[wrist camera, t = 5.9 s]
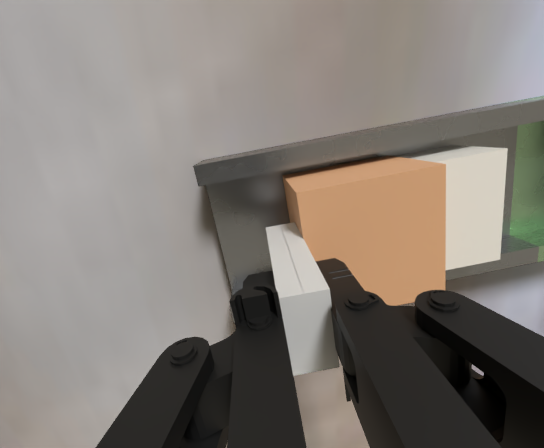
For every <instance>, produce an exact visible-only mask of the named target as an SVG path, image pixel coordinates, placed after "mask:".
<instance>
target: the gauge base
mask: <svg viewBox="0 0 544 448" xmlns="http://www.w3.org/2000/svg"><path fill="white" fill-rule="evenodd" d="M453 145H458V146H476V147H494V148H508V151H507V165H506V180H505V195H504V210H503V225H502V240H501V254H500V260H496V261H490V262H485V263H480V264H475V265H470V266H465V267H460V268H455V269H450V270H446V271H445V281H446V280H451V279H456V278H461V277H466V276H471V275H476V274H481V273H486V272H491V271H496V270H501V269H506V268H511V267H516V266H521V265H526V264H531V263H536V262H541V261H544V96H540V97H535V98H530V99H525V100H519V101H514V102H509V103H503V104H498V105H493V106H488V107H482V108H477V109H472V110H466V111H461V112H456V113H451V114H445V115H440V116H435V117H429V118H424V119H419V120H414V121H408V122H403V123H398V124H392V125H387V126H382V127H377V128H371V129H366V130H361V131H355V132H350V133H345V134H340V135H334V136H329V137H324V138H318V139H313V140H308V141H302V142H297V143H292V144H287V145H281V146H276V147H271V148H265V149H260V150H255V151H250V152H244V153H239V154H234V155H228V156H223V157H218V158H213V159H207V160H203V161H201V162H199V163H198V164H196V165H194V166H193V167H194V171H195V175H196V178H197V182H198V186H204V185H206V188H207V192H208V196H209V200H210V204H211V208H212V212H213V216H214V220H215V224H216V228H217V232H218V236H219V240H220V244H221V248H222V252H223V256H224V260H225V264H226V268H227V272H228V276H229V280H230V284H231V288H232V294H231V297H232V295H234V294H235V293H236V292H237V291H238V290H240V289H242V288H243V281H244V280H245V279H246V277H247V276H248V275H251V274H256V273H262V272H267V271H272V270H273V269H272V263H271V257H270V251H269V245H268V239H267V233H266V227H271V226H277V225H282V224H287V223H290V219H289V213H288V207H287V201H286V195H285V189H284V183H283V177H282V175H287V174H292V173H298V172H303V171H308V170H313V169H319V168H324V167H329V166H334V165H339V164H345V163H350V162H355V161H360V160H366V159H371V158H376V157H381V156H387V155H390V156H401V155H406V154H411V153H417V152H422V151H427V150H432V149H438V148H443V147H448V146H453ZM230 310H231V314H232V318H233V322H234V323H235V321H234V317H233V313H232V309H231V305H230Z"/></svg>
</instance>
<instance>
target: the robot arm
mask: <svg viewBox="0 0 544 448" xmlns="http://www.w3.org/2000/svg"><path fill="white" fill-rule="evenodd" d="M266 233H267V239H268V245H269V251H270V257H271V263H272V269H273V270H272V271H267V272H262V273H256V274H251V275H248V276H247V277H246V279H245V280H244V281H243V288H242V289H240V290H238V291H237V292H236V293H235V294H234V295H232V297H231V299H230V305H231V309H232V313H233V317H234V321H235V325H236V331H235V332H234V333H233V334H232V335H231V336H229V337H228V338H226V339H224V340H222V341H220V342H218V343H216V344H213V345H211V346H209V344H208V341H206V340H205V339H203V338H200V337H190V338H185V339H182V340H180V341H177V342H175V343H174V344H172V345H171V346H169V347H168V348H167V349H166V350H165V351H164V352H163V353H162V354H161V355H160V357H159V358H158V359H157V361H156V362H155V364H154V365H153V367H152V368H151V369H150V371H149V372H148V374H147V375H146V377H145V378H144V379H143V381H142V382H141V384H140V385H139V387H138V388H137V389H136V391H135V392H134V394H133V395H132V397H131V398H130V399H129V401H128V402H127V404H126V405H125V407H124V408H123V409H122V411H121V412H120V414H119V415H118V417H117V418H116V419H115V421H114V422H113V424H112V425H111V427H110V428H109V429H108V431H107V432H106V434H105V435H104V437H103V438H102V439H101V441H100V442H99V444H98V445H97V447H96V448H225V447H226V444H227V448H306V443H305V437H304V432H303V426H302V421H301V415H300V410H299V404H298V399H297V393H296V388H295V382H294V377H293V376H296V375H301V374H306V373H311V372H316V371H321V370H327V369H332V368H337V367H339V359H340V361H341V364H342V366H343V373H344V382H345V390H346V398H347V401H351V399H352V402H353V405H354V407H355V410H356V412H357V415H358V418H359V420H360V423H361V425H362V428H363V431H364V433H365V436H366V439H367V441H368V444H369V446H370V448H544V337H543V336H541V335H539V334H537V333H535V332H533V331H531V330H529V329H527V328H525V327H523V326H521V325H519V324H517V323H516V322H514V321H512V320H510V319H508V318H506V317H504V316H502V315H500V314H498V313H496V312H494V311H492V310H490V309H488V308H486V307H484V306H482V305H480V304H478V303H476V302H475V301H473V300H471V299H469V298H467V297H465V296H463V295H460V294H457V293H455V292H451V291H445V290H430V291H425V292H422V293H421V294H419V295H417V297H416V299H415V306H390V305H387V304H386V303H385V302H384V301H383V300H382V298H380V297H379V296H378V295H377V294H374V293H371V292H369V291H365V290H364V289H363V287H362V286H361V285H360V283H359V282H358V281H357V279H356V278H355V277H354V275H352V273H351V271H350V270H349V269H348V267H347V266H346V265H345V263H344V262H342V261H340V260H338V259H336V258H331V259H326V260H321V261H315V260H314V258H313V256H312V254H311V252H310V250H309V248H308V246H307V244H306V242H305V240H304V239H303V237H302V235H301V233H300V231H299V229H298V228H297V226H296V224H295V222H293V223H287V224H282V225H277V226H271V227H266ZM338 356H339V359H338ZM472 364H473V365H474V366H476V367H477V368H478V369H480V370H481V371H482V372H484V376H482V375H480V374H478V373H477V372H475V371H474V370H473V369H471V368H472ZM350 397H351V398H350ZM227 440H228V443H227Z"/></svg>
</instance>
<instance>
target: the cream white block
mask: <svg viewBox="0 0 544 448" xmlns="http://www.w3.org/2000/svg"><path fill="white" fill-rule="evenodd" d="M507 151H508V148H494V147H476V146H458V145H453V146H448V147H443V148H438V149H432V150H427V151H422V152H417V153H411V154H406V155H401V156H396V157H403V158H410V159H416V160H423V161H429V162H436V163H442V164H446V270H450V269H455V268H460V267H465V266H470V265H475V264H480V263H485V262H490V261H496V260H500V254H501V240H502V225H503V210H504V195H505V180H506V165H507Z"/></svg>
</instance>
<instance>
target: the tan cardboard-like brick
mask: <svg viewBox="0 0 544 448" xmlns="http://www.w3.org/2000/svg"><path fill="white" fill-rule="evenodd" d="M282 177H283V183H284V189H285V195H286V201H287V207H288V213H289V219H290V223H293V222H295V224H296V226H297V228H298V229H299V231H300V233H301V235H302V237H303V239H304V240H305V242H306V244H307V246H308V248H309V250H310V252H311V254H312V256H313V258H314V260H315V261H321V260H326V259H331V258H336V259H338V260H340V261H342V262H344V263H345V265H346V266H347V267H348V269H349V270H350V271H351V273H352V275H354V277H355V278H356V279H357V281H358V282H359V283H360V285H361V286H362V287H363V289H364V290H365V291H369V292H371V293H374V294H377V295H378V296H379V297H380V298H382V300H383V301H384V302H385V303H386V304H387V305H390V306H397V305H402V304H407V303H412V302H415V299H416V297H417V295H419V294H421V293H422V292H425V291H430V290H445V271H446V164H442V163H436V162H429V161H423V160H416V159H410V158H403V157H396V156H390V155H387V156H381V157H376V158H371V159H366V160H360V161H355V162H350V163H345V164H339V165H334V166H329V167H324V168H319V169H313V170H308V171H303V172H298V173H292V174H287V175H282Z"/></svg>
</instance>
